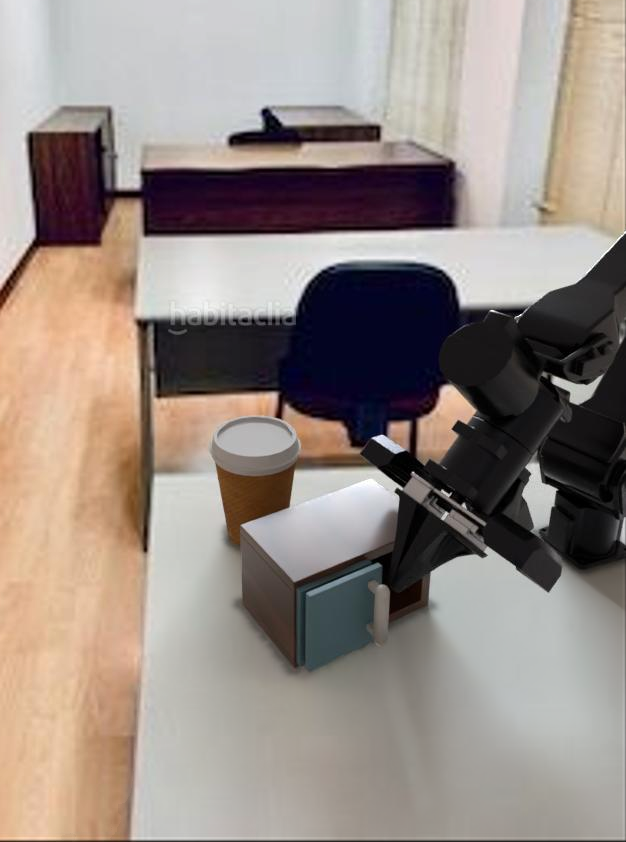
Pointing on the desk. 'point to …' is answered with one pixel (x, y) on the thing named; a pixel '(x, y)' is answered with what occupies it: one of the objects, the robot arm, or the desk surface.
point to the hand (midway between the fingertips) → (392, 588)
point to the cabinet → (319, 559)
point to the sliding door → (346, 616)
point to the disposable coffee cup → (254, 468)
